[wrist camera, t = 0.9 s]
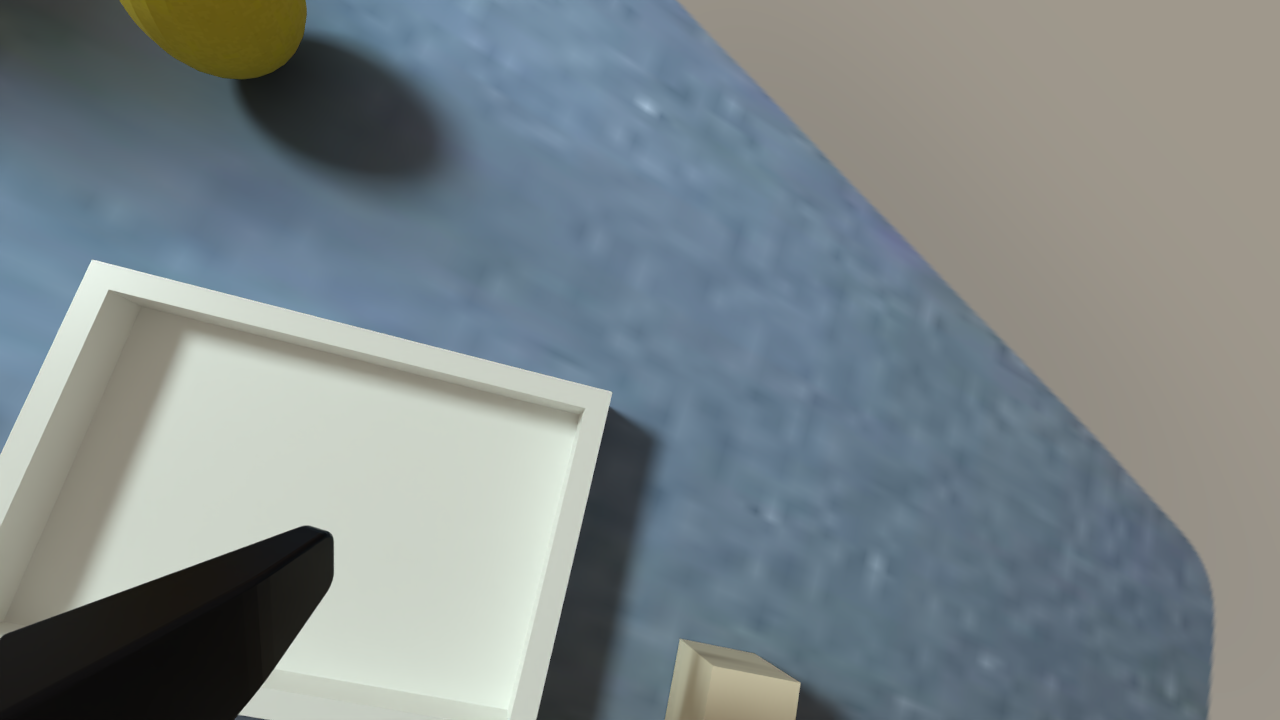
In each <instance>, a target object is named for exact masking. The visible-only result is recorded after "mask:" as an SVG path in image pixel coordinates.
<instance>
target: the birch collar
mask: <svg viewBox="0 0 1280 720" xmlns="http://www.w3.org/2000/svg"><path fill="white" fill-rule="evenodd" d="M799 690H800V682H798V681H797V680H795V679H794V678H792V677H790V676H789V675H787V674H786V673H784V672H783V671H781V670H779V669H778V668H776V667H775V666H773V665H772V664H770V663H769V662H767V661H765V660H764V659H762V658H761V657H759V656H758V655H756V654H754V653H749V652H744V651H739V650H734V649H729V648H724V647H719V646H714V645H709V644H704V643H699V642H694V641H689V640H684V639H680V641H679V647H678V652H677V657H676V663H675V668H674V673H673V679H672V684H671V690H670V695H669V700H668V706H667V711H666V716H665V720H795V719H796V712H797V705H798V698H799Z"/></svg>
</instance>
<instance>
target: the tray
mask: <svg viewBox="0 0 1280 720" xmlns="http://www.w3.org/2000/svg"><path fill="white" fill-rule="evenodd" d="M611 396H612V392H610V391H606V390H602V389H598V388H594V387H590V386H586V385H583V384H579V383H575V382H571V381H567V380H563V379H559V378H555V377H551V376H547V375H543V374H539V373H535V372H532V371H528V370H524V369H520V368H516V367H512V366H508V365H504V364H500V363H496V362H492V361H488V360H484V359H480V358H477V357H473V356H469V355H465V354H461V353H457V352H453V351H449V350H445V349H441V348H437V347H433V346H429V345H425V344H422V343H418V342H414V341H410V340H406V339H402V338H398V337H394V336H390V335H386V334H382V333H378V332H374V331H371V330H367V329H363V328H359V327H355V326H351V325H347V324H343V323H339V322H335V321H331V320H327V319H323V318H319V317H316V316H312V315H308V314H304V313H300V312H296V311H292V310H288V309H284V308H280V307H276V306H272V305H268V304H264V303H261V302H257V301H253V300H249V299H245V298H241V297H237V296H233V295H229V294H225V293H221V292H217V291H213V290H209V289H206V288H202V287H198V286H194V285H190V284H186V283H182V282H178V281H174V280H170V279H166V278H162V277H158V276H155V275H151V274H147V273H143V272H139V271H135V270H131V269H127V268H123V267H119V266H115V265H111V264H107V263H103V262H100V261H96V260H92V261H91V263H90V265H89V267H88V269H87V271H86V274H85V276H84V278H83V280H82V282H81V284H80V286H79V288H78V291H77V293H76V295H75V297H74V299H73V301H72V303H71V306H70V308H69V310H68V312H67V314H66V316H65V318H64V320H63V323H62V325H61V327H60V329H59V331H58V333H57V335H56V337H55V340H54V342H53V344H52V346H51V348H50V350H49V352H48V355H47V357H46V359H45V361H44V363H43V365H42V367H41V369H40V372H39V374H38V376H37V378H36V380H35V382H34V384H33V387H32V389H31V391H30V393H29V395H28V397H27V399H26V401H25V404H24V406H23V408H22V410H21V412H20V414H19V416H18V418H17V421H16V423H15V425H14V427H13V429H12V431H11V433H10V436H9V438H8V440H7V442H6V444H5V446H4V448H3V450H2V453H1V455H0V638H1V637H2V636H3V635H4V634H6V633H9V632H12V631H15V630H17V629H20V628H23V627H26V626H28V625H31V624H34V623H37V622H39V621H42V620H45V619H48V618H50V617H53V616H56V615H59V614H61V613H64V612H67V611H70V610H72V609H75V608H78V607H81V606H83V605H86V604H89V603H92V602H94V601H97V600H100V599H103V598H105V597H108V596H111V595H114V594H116V593H119V592H122V591H124V590H127V589H130V588H133V587H135V586H138V585H141V584H144V583H146V582H149V581H152V580H155V579H157V578H160V577H163V576H166V575H168V574H171V573H174V572H177V571H179V570H182V569H185V568H188V567H190V566H193V565H196V564H199V563H201V562H204V561H207V560H210V559H212V558H215V557H218V556H221V555H223V554H226V553H229V552H232V551H234V550H237V549H240V548H243V547H245V546H248V545H251V544H254V543H256V542H259V541H262V540H265V539H267V538H270V537H273V536H275V535H278V534H281V533H284V532H286V531H289V530H292V529H295V528H297V527H301V526H305V525H309V526H313V527H316V528H319V529H323V530H326V531H329V532H330V533H331V534H332V535H333V538H334V577H333V581H332V584H331V586H330V588H329V590H328V592H327V593H326V595H325V596H324V598H323V599H322V600H321V602H320V603H319V605H318V606H317V608H316V609H315V611H314V612H313V614H312V615H311V616H310V618H309V619H308V621H307V622H306V624H305V625H304V627H303V628H302V629H301V631H300V632H299V634H298V635H297V637H296V638H295V640H294V641H293V643H292V644H291V645H290V647H289V648H288V650H287V651H286V653H285V654H284V656H283V657H282V658H281V660H280V661H279V663H278V664H277V666H276V667H275V669H274V670H273V671H272V673H271V674H270V675H269V677H268V678H267V680H266V681H265V682H264V684H263V685H262V686H261V687H260V689H259V690H258V691H257V692H256V694H255V695H254V696H253V697H252V699H251V700H250V701H249V702H248V704H247V705H246V706H245V707H244V708H243V710H242V711H241V712H240V713H239V714H238V715H243V716H249V717H256V718H262V719H268V720H536V718H537V714H538V710H539V705H540V701H541V697H542V692H543V688H544V684H545V680H546V675H547V671H548V667H549V662H550V658H551V654H552V649H553V645H554V641H555V637H556V632H557V628H558V624H559V619H560V615H561V611H562V606H563V602H564V598H565V594H566V589H567V585H568V581H569V576H570V572H571V568H572V563H573V559H574V555H575V551H576V546H577V542H578V538H579V533H580V529H581V525H582V520H583V516H584V512H585V508H586V503H587V499H588V495H589V490H590V486H591V482H592V477H593V473H594V469H595V465H596V460H597V456H598V452H599V447H600V443H601V439H602V435H603V430H604V426H605V422H606V417H607V413H608V409H609V404H610V400H611Z"/></svg>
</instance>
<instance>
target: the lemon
mask: <svg viewBox="0 0 1280 720" xmlns="http://www.w3.org/2000/svg"><path fill="white" fill-rule="evenodd" d="M120 2H121V3H122V5H123V6H124V8H125V9H126V11H127V12H128V14H129V15H130V17H131V18H132V19H133V20H134V22H135V23H136V24H137V25H138V26H139V27H140V28H141V29H142V30H143V31H144V32H145V33H146V34H147V35H148V36H149V37H150V38H151V39H152V40H153V41H154V42H156V43H157V44H158V45H159V46H160V47H161V48H162V49H163V50H165V51H166V52H167V53H168V54H170V55H171V56H173V57H174V58H175V59H177V60H179V61H181V62H183V63H185V64H187V65H188V66H190V67H192V68H194V69H196V70H198V71H200V72H204V73H207V74H211V75H214V76H218V77H221V78H230V79H249V78H257V77H260V76H263V75H266V74H269V73H272V72H273V71H275V70H277V69H278V68H280V67H281V66H283V65H284V64H285V63H286V62H287V61H288V60H289V59H290V58H291V57H292V56H293V55H294V54H295V52H296V50H297V48H298V46H299V44H300V42H301V40H302V38H303V35H304V29H305V23H306V16H307V8H306V1H305V0H120Z"/></svg>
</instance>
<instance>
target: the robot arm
mask: <svg viewBox="0 0 1280 720" xmlns="http://www.w3.org/2000/svg"><path fill="white" fill-rule="evenodd" d="M333 577H334V538H333V535H332V534H331V533H330V532H329V531H326V530H323V529H319V528H316V527H313V526H309V525H305V526H301V527H297V528H295V529H292V530H289V531H286V532H284V533H281V534H278V535H275V536H273V537H270V538H267V539H265V540H262V541H259V542H256V543H254V544H251V545H248V546H245V547H243V548H240V549H237V550H234V551H232V552H229V553H226V554H223V555H221V556H218V557H215V558H212V559H210V560H207V561H204V562H201V563H199V564H196V565H193V566H190V567H188V568H185V569H182V570H179V571H177V572H174V573H171V574H168V575H166V576H163V577H160V578H157V579H155V580H152V581H149V582H146V583H144V584H141V585H138V586H135V587H133V588H130V589H127V590H124V591H122V592H119V593H116V594H114V595H111V596H108V597H105V598H103V599H100V600H97V601H94V602H92V603H89V604H86V605H83V606H81V607H78V608H75V609H72V610H70V611H67V612H64V613H61V614H59V615H56V616H53V617H50V618H48V619H45V620H42V621H39V622H37V623H34V624H31V625H28V626H26V627H23V628H20V629H17V630H15V631H12V632H9V633H6V634H4V635H3V636H2V637H1V638H0V720H234V719H235V718H236V717H237V715H238V714H239V713H240V712H241V711H242V710H243V708H244V707H245V706H246V705H247V704H248V702H249V701H250V700H251V699H252V697H253V696H254V695H255V694H256V692H257V691H258V690H259V689H260V687H261V686H262V685H263V684H264V682H265V681H266V680H267V678H268V677H269V675H270V674H271V673H272V671H273V670H274V669H275V667H276V666H277V664H278V663H279V661H280V660H281V658H282V657H283V656H284V654H285V653H286V651H287V650H288V648H289V647H290V645H291V644H292V643H293V641H294V640H295V638H296V637H297V635H298V634H299V632H300V631H301V629H302V628H303V627H304V625H305V624H306V622H307V621H308V619H309V618H310V616H311V615H312V614H313V612H314V611H315V609H316V608H317V606H318V605H319V603H320V602H321V600H322V599H323V598H324V596H325V595H326V593H327V592H328V590H329V588H330V586H331V584H332V581H333Z"/></svg>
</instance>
